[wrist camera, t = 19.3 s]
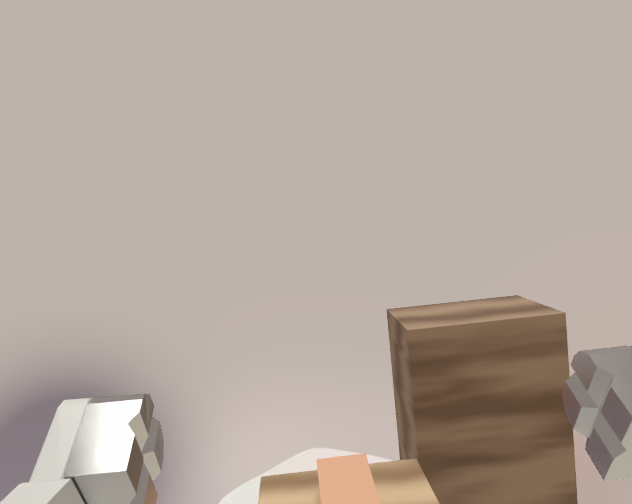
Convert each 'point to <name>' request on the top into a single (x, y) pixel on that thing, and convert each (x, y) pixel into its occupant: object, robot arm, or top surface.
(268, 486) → the brown wooden stepped block
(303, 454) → the top surface
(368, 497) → the long slim case
